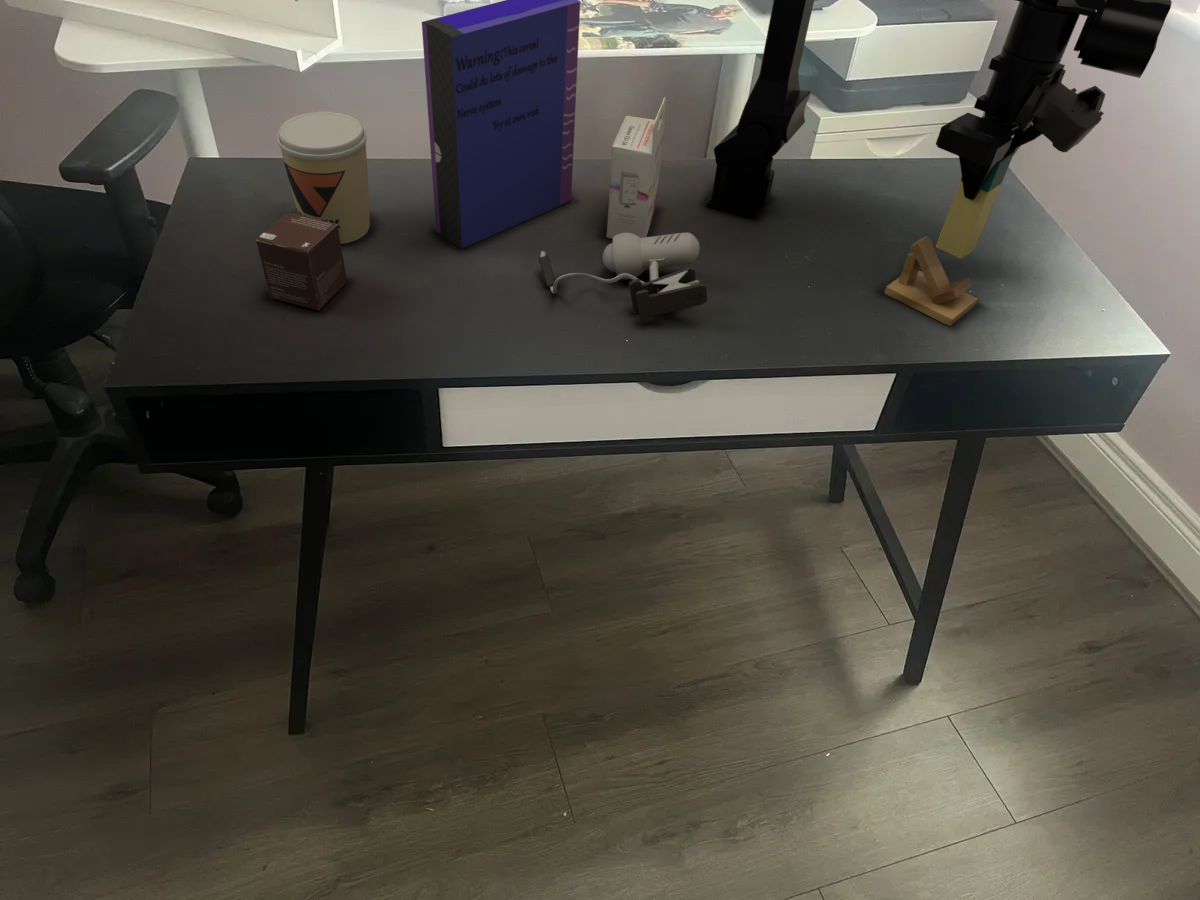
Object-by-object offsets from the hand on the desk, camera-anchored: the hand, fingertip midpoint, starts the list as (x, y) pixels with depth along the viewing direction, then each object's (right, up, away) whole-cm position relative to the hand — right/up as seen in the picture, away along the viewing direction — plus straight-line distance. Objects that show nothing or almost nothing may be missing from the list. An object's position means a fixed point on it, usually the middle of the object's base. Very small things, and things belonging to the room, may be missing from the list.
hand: (976, 193), depth 102 cm
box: (-73, -12, -5) cm, 75 cm away
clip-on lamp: (-40, -12, -1) cm, 42 cm away
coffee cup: (-73, -3, +5) cm, 73 cm away
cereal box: (-54, -1, +9) cm, 55 cm away
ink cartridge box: (-39, -1, +9) cm, 40 cm away
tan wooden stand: (-5, -12, +2) cm, 13 cm away
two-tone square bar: (0, -1, +1) cm, 1 cm away
